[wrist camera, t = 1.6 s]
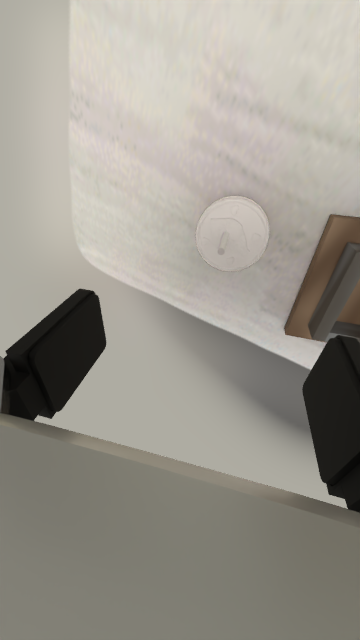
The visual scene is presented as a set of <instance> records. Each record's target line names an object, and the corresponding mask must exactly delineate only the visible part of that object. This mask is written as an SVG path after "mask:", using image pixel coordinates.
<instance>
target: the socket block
mask: <svg viewBox="0 0 360 640" xmlns="http://www.w3.org/2000/svg"><path fill="white" fill-rule="evenodd" d="M284 329H285V335H290V336H295V337H301V338H306V339H311V340H317V341H322V342H328V340H329V339H330V338H335V337H336V336H337V335H342V336H348V337H353V338H356V339H357V340H358V341H359V343H360V218H359V217H350V216H341V215H332V214H331V215H330V218H329V220H328V223H327V225H326V227H325V230H324V232H323V235H322V237H321V240H320V242H319V245H318V247H317V249H316V252H315V254H314V257H313V259H312V262H311V264H310V267H309V269H308V272H307V274H306V276H305V279H304V281H303V284H302V286H301V289H300V291H299V294H298V296H297V299H296V301H295V303H294V306H293V308H292V311H291V313H290V316H289V318H288V321H287V323H286V326H285V328H284Z"/></svg>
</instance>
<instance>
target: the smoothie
mask: <svg viewBox="0 0 360 640" xmlns="http://www.w3.org/2000/svg"><path fill="white" fill-rule="evenodd" d="M195 240H196V246H197V249H198V251H199V253H200V255H201V257H202V258H203V259H204V260H205V262H206V263H208V264H209V265H210V266H212V267H214V268H216V269H218V270H221V271H227V272H234V271H240V270H243V269H245V268H248V267H250V266H251V265H253V264H254V263H255V262H256V261H257V260H258V259H259V258H260V257H261V256H262V254H263V253H264V251H265V249H266V247H267V244H268V240H269V222H268V219H267V216H266V214H265V212H264V211H263V209H262V208H261V207H260V206H259V205H258V204H257V203H255V202H254V201H253V200H251V199H248V198H246V197H243V196H229V197H224V198H221V199H219V200H217V201H215V202H213V203H212V204H211V205H210V206H209V207H208V208H207V209H206V210H205V211H204V213H203V214H202V216H201V217H200V220H199V222H198V225H197V228H196V234H195Z"/></svg>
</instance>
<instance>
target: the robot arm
mask: <svg viewBox="0 0 360 640" xmlns="http://www.w3.org/2000/svg"><path fill="white" fill-rule="evenodd" d="M105 347H106V337H105V331H104V326H103V320H102V314H101V308H100V302H99V298H98V296H97V295H95V293H94V291H90V290H85V289H79V290H77V291H76V292H75V293H74V294H72V295H71V296H70V297H69V298H68V299H66V300H65V301H64V302H63V303H62V304H61V305H59V306H58V307H57V308H56V309H55V310H54V311H52V312H51V313H50V314H49V315H48V316H46V317H45V318H44V319H43V320H42V321H41V322H40V323H38V324H37V325H36V326H35V327H34V328H32V329H31V330H30V331H29V332H28V333H27V334H25V336H23V337H22V338H21V339H20V340H18V341H17V342H16V343H15V344H13V345H12V346H11V347H10V348H9V349H8V350H6V353H7V356H6V357H5V358H4V359H3V358H2V357H1V356H0V640H360V343H359V341H358V340H357V339H356V338H353V337H348V336H342V335H337V336H336V337H335V338H330V339H329V340H328V342H327V344H326V346H325V347H324V349H323V351H322V353H321V354H320V356H319V358H318V360H317V361H316V363H315V365H314V367H313V368H312V370H311V372H310V374H309V376H308V377H307V379H306V381H305V383H304V385H303V396H304V401H305V406H306V410H307V415H308V420H309V425H310V429H311V434H312V439H313V444H314V448H315V453H316V458H317V462H318V467H319V472H320V476H321V479H322V481H323V482H324V483H326V484H327V488H328V493H329V495H333V496H336V497H340V498H343V499H345V501H346V504H347V508H348V509H346V508H342V507H339V506H336V505H333V504H329V503H326V502H323V501H319V500H316V499H313V498H309V497H306V496H303V495H299V494H296V493H292V492H289V491H285V490H282V489H278V488H275V487H271V486H268V485H264V484H260V483H256V482H253V481H250V480H246V479H242V478H239V477H235V476H232V475H228V474H225V473H221V472H218V471H214V470H211V469H207V468H204V467H200V466H196V465H193V464H189V463H186V462H182V461H178V460H175V459H171V458H168V457H164V456H161V455H157V454H153V453H150V452H146V451H143V450H139V449H135V448H132V447H128V446H124V445H121V444H117V443H113V442H110V441H106V440H103V439H98V438H95V437H91V436H88V435H84V434H80V433H76V432H73V431H69V430H66V429H62V428H58V427H55V426H51V425H47V424H43V423H39V422H35V421H34V419H35V418H36V417H37V415H38V414H39V416H43V417H47V418H50V419H52V417H53V416H54V414H55V413H56V412H58V411H60V410H62V408H63V407H64V406H65V404H66V403H67V401H68V400H69V399H70V397H71V396H72V394H73V393H74V391H75V390H76V389H77V387H78V386H79V384H80V383H81V382H82V380H83V379H84V377H85V376H86V374H87V373H88V372H89V370H90V369H91V367H92V366H93V365H94V363H95V362H96V360H97V359H98V358H99V356H100V355H101V353H102V352H103V350H104V349H105Z"/></svg>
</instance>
